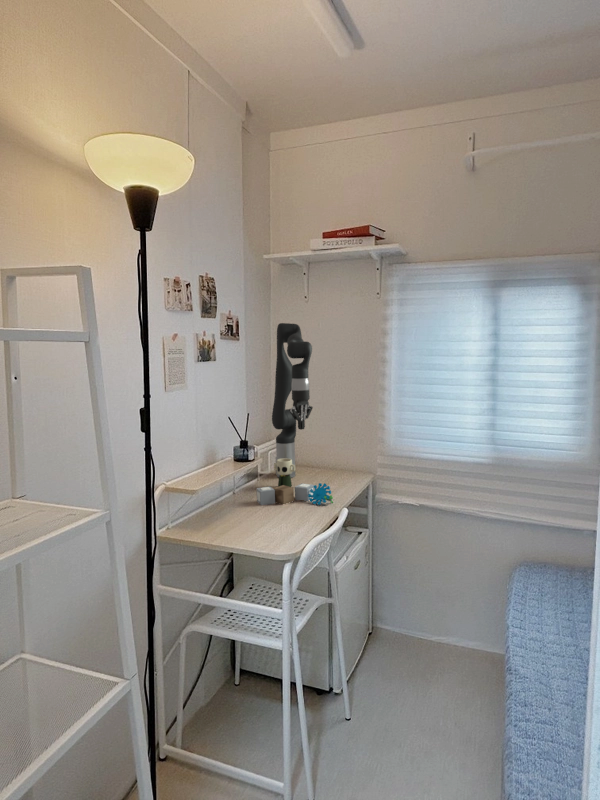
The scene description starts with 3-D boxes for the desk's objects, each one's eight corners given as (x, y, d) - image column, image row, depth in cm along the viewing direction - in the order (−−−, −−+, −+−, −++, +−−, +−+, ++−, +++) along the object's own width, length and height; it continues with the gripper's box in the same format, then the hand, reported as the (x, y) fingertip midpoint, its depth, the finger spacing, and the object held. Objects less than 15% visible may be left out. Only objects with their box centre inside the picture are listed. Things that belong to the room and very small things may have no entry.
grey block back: (295, 500, 225) (294, 486, 224) (302, 496, 230) (301, 482, 229) (307, 502, 222) (307, 487, 221) (314, 498, 227) (314, 484, 226)
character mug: (270, 488, 243) (269, 460, 242) (278, 484, 250) (277, 457, 248) (291, 491, 238) (291, 462, 237) (299, 487, 245) (298, 459, 243)
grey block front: (256, 501, 224) (256, 487, 223) (270, 499, 226) (270, 486, 226) (260, 505, 218) (260, 491, 218) (275, 503, 221) (274, 489, 220)
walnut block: (273, 502, 223) (273, 488, 222) (283, 498, 227) (283, 485, 226) (283, 504, 219) (283, 490, 218) (293, 501, 223) (293, 487, 222)
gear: (303, 499, 220) (315, 479, 224) (308, 506, 224) (320, 486, 228) (324, 507, 213) (336, 486, 217) (329, 514, 217) (341, 494, 221)
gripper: (296, 390, 219) (297, 432, 221) (317, 388, 229) (318, 428, 231) (283, 389, 224) (284, 430, 226) (304, 387, 234) (305, 426, 236)
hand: (301, 429), depth 228 cm, fingers closed
